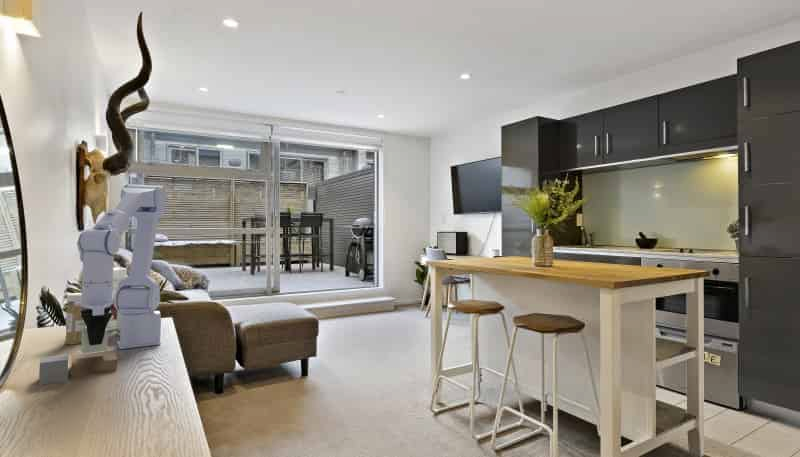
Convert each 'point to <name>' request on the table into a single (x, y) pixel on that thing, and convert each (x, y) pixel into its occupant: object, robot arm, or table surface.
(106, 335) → the sage block
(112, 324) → the juice carton
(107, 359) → the walnut block
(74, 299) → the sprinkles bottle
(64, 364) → the grey block
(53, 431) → the table surface
